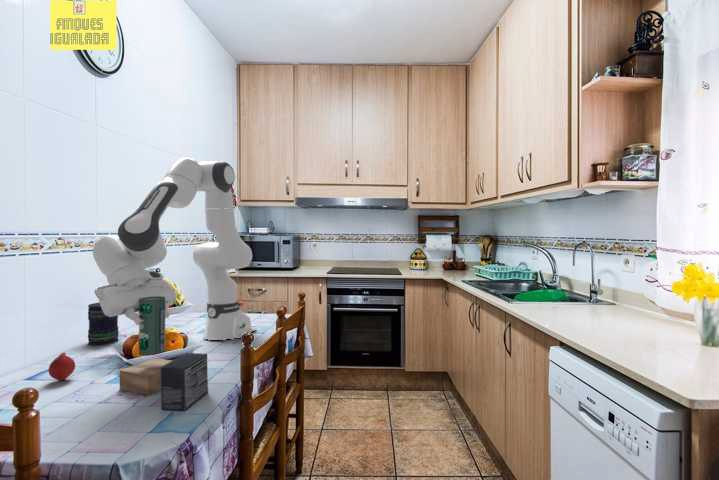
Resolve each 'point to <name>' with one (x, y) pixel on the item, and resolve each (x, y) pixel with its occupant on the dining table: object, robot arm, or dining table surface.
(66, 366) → the onion
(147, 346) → the can
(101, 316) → the storage jar
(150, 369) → the brown cardboard box
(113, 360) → the dining table surface
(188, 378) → the small box
